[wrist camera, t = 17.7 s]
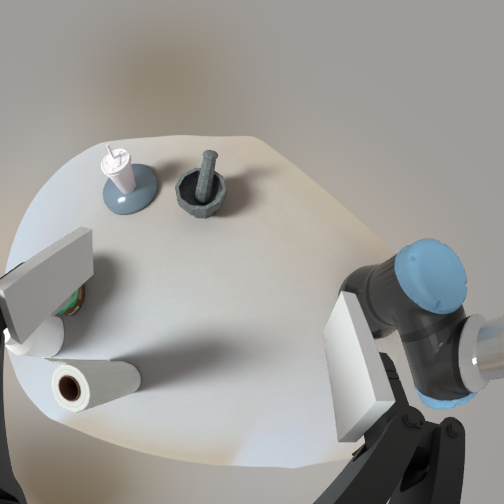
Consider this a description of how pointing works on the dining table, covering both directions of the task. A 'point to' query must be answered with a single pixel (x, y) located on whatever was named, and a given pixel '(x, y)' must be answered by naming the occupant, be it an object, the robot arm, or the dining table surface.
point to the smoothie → (119, 169)
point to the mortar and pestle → (201, 188)
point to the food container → (71, 303)
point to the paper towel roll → (92, 382)
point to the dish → (135, 199)
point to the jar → (39, 340)
